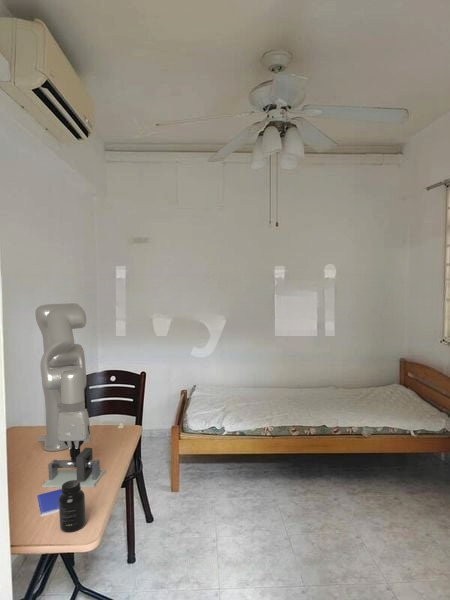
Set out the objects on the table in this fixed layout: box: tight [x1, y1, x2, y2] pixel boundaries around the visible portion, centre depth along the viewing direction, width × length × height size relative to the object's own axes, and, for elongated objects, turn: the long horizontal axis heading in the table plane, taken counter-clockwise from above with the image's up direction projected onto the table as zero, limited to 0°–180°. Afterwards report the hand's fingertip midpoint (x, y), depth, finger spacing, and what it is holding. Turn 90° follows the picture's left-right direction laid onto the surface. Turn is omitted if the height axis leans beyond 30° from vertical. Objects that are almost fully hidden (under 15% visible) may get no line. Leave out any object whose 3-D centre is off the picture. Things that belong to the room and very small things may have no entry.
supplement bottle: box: [58, 480, 87, 533], centre depth 113 cm, size 7×7×12 cm
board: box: [41, 469, 106, 489], centre depth 141 cm, size 18×11×1 cm, turn 87°
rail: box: [47, 458, 101, 480], centre depth 140 cm, size 16×4×6 cm, turn 87°
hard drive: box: [36, 488, 62, 518], centre depth 126 cm, size 2×8×12 cm
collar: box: [75, 447, 94, 481], centre depth 140 cm, size 2×8×8 cm, turn 177°
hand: (75, 458), depth 140 cm, fingers closed
